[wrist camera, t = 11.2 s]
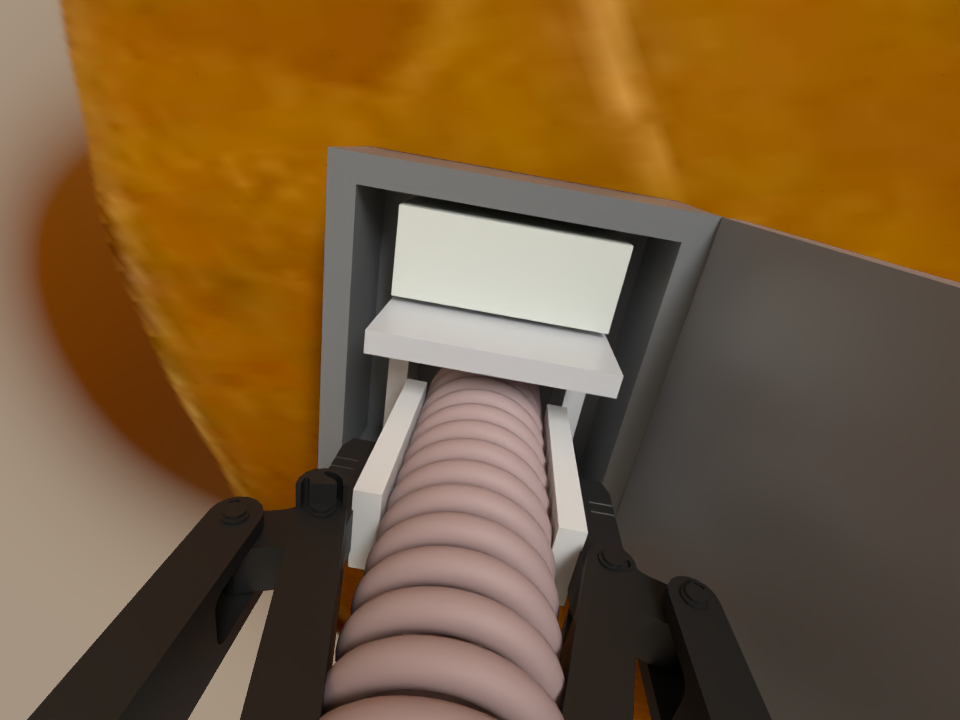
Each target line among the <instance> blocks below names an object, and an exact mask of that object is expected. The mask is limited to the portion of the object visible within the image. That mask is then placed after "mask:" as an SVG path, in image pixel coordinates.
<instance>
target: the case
mask: <svg viewBox="0 0 960 720" xmlns="http://www.w3.org/2000/svg"><path fill="white" fill-rule="evenodd" d="M721 219H722V220H721ZM720 222H721V223H720ZM716 233H717V234H716ZM715 236H716V237H715ZM711 247H712V248H711ZM710 250H711V251H710ZM709 253H710V254H709ZM705 264H706V265H705ZM704 267H705V268H704ZM700 278H701V279H700ZM699 281H700V282H699ZM695 292H696V293H695ZM694 295H695V296H694ZM690 306H691V307H690ZM689 309H690V310H689ZM688 312H689V313H688ZM684 323H685V324H684ZM683 326H684V327H683ZM679 337H680V338H679ZM678 340H679V341H678ZM674 351H675V352H674ZM673 354H674V355H673ZM669 365H670V366H669ZM443 367H444V368H449V369H455V370H460V371H466V372H471V373H477V374H483V375H488V376H494V377H499V378H505V379H510V380H516V381H521V382H527V383H532V384H538V385H539V390H540V402H541V414H542V422H543V418H544V414H545V410H546V406H547V404H550V405H555V406H561V407H566V408H567V412H568V418H569V424H570V429H571V435H572V441H573V447H574V453H575V459H576V465H577V471H578V477H579V478H582V479H587V480H593V481H598V482H601V483H602V484H603V486H604V487H605V488H606V490H607V491H608V492H609V494H610V498H611V502H612V507H613V510H614V514H615V515H614V517H616V522H617V526H618V530H619V534H620V538H621V542H622V546H623V550H625V551H626V552H627V553H628V554H629V555H631V557H632V558H633V560H634V561H635V563H636V567H637V569H638V570H639V571H641V572H642V573H644V574H646V575H648V576H650V577H652V578H654V579H656V580H659V581H661V582H663V583H665V584H668V583H669V582H670V580H671V579H672V578H674V577H676V576H687V577H690V578H693V579H696V580H698V581H700V582H701V583H703V584H705V585H706V586H707V587H708V588H709V589H710V590H712V591H713V592H714V593H715V595H716V596H717V598H718V600H719V601H720V603H721V605H722V608H723V610H724V612H725V614H726V617H727V619H728V621H729V624H730V626H731V628H732V630H733V633H734V635H735V637H736V639H737V642H738V644H739V646H740V649H741V651H742V653H743V655H744V658H745V660H746V662H747V664H748V667H749V669H750V671H751V674H752V676H753V678H754V680H755V683H756V685H757V687H758V689H759V692H760V694H761V696H762V699H763V701H764V703H765V705H766V708H767V710H768V712H769V714H770V717H771V719H772V720H960V283H958V282H955V281H952V280H948V279H945V278H941V277H938V276H934V275H931V274H927V273H924V272H920V271H917V270H913V269H910V268H906V267H903V266H900V265H896V264H893V263H889V262H886V261H882V260H879V259H875V258H872V257H868V256H865V255H861V254H858V253H854V252H851V251H848V250H844V249H841V248H837V247H834V246H830V245H827V244H823V243H820V242H816V241H813V240H809V239H806V238H802V237H799V236H795V235H792V234H789V233H785V232H782V231H778V230H775V229H771V228H768V227H764V226H761V225H757V224H754V223H750V222H747V221H743V220H736V219H730V218H724V217H721V216H718V215H715V214H712V213H710V212H707V211H704V210H701V209H698V208H695V207H692V206H690V205H687V204H684V203H681V202H678V201H674V200H668V199H663V198H657V197H651V196H646V195H640V194H634V193H629V192H623V191H618V190H612V189H606V188H601V187H595V186H590V185H584V184H578V183H573V182H567V181H562V180H556V179H550V178H545V177H539V176H534V175H528V174H522V173H517V172H511V171H506V170H500V169H494V168H489V167H483V166H478V165H472V164H466V163H461V162H455V161H449V160H444V159H438V158H433V157H427V156H421V155H416V154H410V153H405V152H399V151H393V150H388V149H382V148H377V147H371V146H359V147H328V152H327V184H326V217H325V250H324V282H323V315H322V348H321V380H320V413H319V446H318V469H321V468H329V466H331V463H332V461H333V460H334V458H336V455H337V453H338V451H339V450H340V448H341V446H342V445H344V444H345V443H347V442H348V441H350V440H351V439H353V438H357V439H362V440H368V441H373V442H377V440H378V438H379V436H380V434H381V432H382V430H383V428H384V426H385V424H386V422H387V420H388V418H389V416H390V414H391V412H392V410H393V408H394V405H395V403H396V401H397V399H398V397H399V395H400V393H401V391H402V389H403V387H404V385H405V383H406V381H407V379H412V380H418V381H423V382H427V388H426V395H425V398H426V396H427V393H428V391H429V388H430V384H431V382H432V380H433V378H434V377H435V375H436V374H437V373H438V371H439V370H441V369H442V368H443ZM668 368H669V369H668ZM663 382H664V383H663ZM662 385H663V386H662ZM658 396H659V397H658ZM657 399H658V400H657ZM653 410H654V411H653ZM652 413H653V414H652ZM648 424H649V425H648ZM647 427H648V428H647ZM642 441H643V442H642ZM641 444H642V445H641ZM637 455H638V456H637ZM636 458H637V459H636ZM632 469H633V470H632ZM631 472H632V473H631ZM627 483H628V484H627ZM626 486H627V487H626ZM621 500H622V501H621ZM620 503H621V504H620ZM616 514H617V515H616Z"/></svg>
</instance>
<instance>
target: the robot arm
mask: <svg viewBox="0 0 960 720" xmlns="http://www.w3.org/2000/svg"><path fill="white" fill-rule="evenodd" d="M426 388H427V382H423V381H418V380H412V379H407V381H406V383H405V385H404V387H403V389H402V391H401V393H400V395H399V397H398V399H397V401H396V403H395V405H394V408H393V410H392V412H391V414H390V416H389V418H388V420H387V422H386V424H385V426H384V428H383V430H382V432H381V434H380V436H379V438H378V440H377V442H373V441H368V440H362V439H357V438H353V439H351V440H350V441H348V442H347V443H345V444H344V445H342V446H341V448H340V450H339V451H338V453H337V455H336V458H334V460H333V461H332V463H331V466H329V468H321V469H314V470H311V471H308V472H306V473H305V474H303V475H302V476H300V477H299V479H298V481H297V482H296V507H294V508H290V509H285V510H274V511H263V507H262V505H261V504H260V503H259V502H258V501H257V500H255V499H252V498H250V497H234V498H229V499H226V500H223V501H221V502H219V503H217V504H216V505H215V506H213V507H212V508H211V509H210V510H209V511H208V512H207V514H205V516H204V517H203V518H202V519H201V520H200V521H199V523H198V524H197V525H196V526H195V527H194V528H193V530H192V531H191V532H190V533H189V534H188V535H187V536H186V538H185V539H184V540H183V541H182V542H181V543H180V544H179V546H178V547H177V548H176V549H175V550H174V551H173V553H172V554H171V555H170V556H169V557H168V558H167V559H166V560H165V562H164V563H163V564H162V565H161V566H160V567H159V568H158V570H157V571H156V572H155V573H154V574H153V575H152V577H151V578H150V579H149V580H148V581H147V582H146V583H145V585H144V586H143V587H142V588H141V589H140V590H139V591H138V593H137V594H136V595H135V596H134V597H133V598H132V600H131V601H130V602H129V603H128V604H127V605H126V606H125V608H124V609H123V610H122V611H121V612H120V613H119V615H118V616H117V617H116V618H115V619H114V620H113V621H112V623H111V624H110V625H109V626H108V627H107V629H105V631H104V632H103V633H102V634H101V635H100V636H99V638H98V639H97V640H96V641H95V642H94V643H93V644H92V646H91V647H90V648H89V649H88V650H87V651H86V653H85V654H84V655H83V656H82V657H81V658H80V659H79V661H78V662H77V663H76V664H75V665H74V666H73V667H72V669H71V670H70V671H69V672H68V673H67V674H66V676H65V677H64V678H63V679H62V680H61V682H59V684H58V685H57V686H56V687H55V688H54V689H53V690H52V692H51V693H50V694H49V695H48V696H47V697H46V699H45V700H44V701H43V702H42V703H41V704H40V705H39V707H38V708H37V709H36V710H35V711H34V712H33V713H32V715H31V716H30V717H29V718H28V719H27V720H188V718H189V716H190V715H191V713H192V711H193V709H194V708H195V706H196V704H197V703H198V701H199V699H200V698H201V696H202V694H203V693H204V691H205V689H206V687H207V686H208V684H209V682H210V680H211V679H212V677H213V675H214V673H215V672H216V670H217V669H218V667H219V665H220V664H221V662H222V660H223V659H224V657H225V655H226V653H227V652H228V650H229V648H230V647H231V645H232V643H233V641H234V640H235V638H236V636H237V635H238V633H239V631H240V630H241V628H242V626H243V625H244V623H245V621H246V619H247V618H248V616H249V614H250V613H251V611H252V609H253V608H254V606H255V604H256V603H257V601H258V599H259V597H260V596H261V594H262V592H263V591H266V590H274V592H273V596H272V600H271V604H270V608H269V611H268V615H267V619H266V623H265V627H264V630H263V634H262V638H261V642H260V646H259V649H258V653H257V657H256V661H255V664H254V668H253V672H252V676H251V680H250V683H249V687H248V691H247V696H246V699H245V702H244V706H243V711H242V714H241V718H240V720H319V719H320V718H321V717H322V716H323V704H324V691H325V681H326V675H327V673H328V671H329V670H330V669H331V668H332V664H333V655H334V647H335V638H336V630H337V622H338V613H339V605H340V596H341V588H342V580H343V567H344V565H345V562H346V560H347V557H348V555H349V558H348V567H352V568H358V569H363V570H365V565H366V561H367V558H368V554H369V552H370V550H371V549H372V547H373V545H374V544H375V542H376V535H377V531H378V528H379V524H380V522H381V520H382V518H383V517H384V515H385V512H386V507H387V503H388V500H389V497H390V495H391V493H392V491H393V490H394V486H395V481H396V478H397V475H398V473H399V471H400V469H401V467H402V463H403V459H404V456H405V454H406V452H407V450H408V448H409V443H410V439H411V437H412V435H413V433H414V431H415V427H416V423H417V421H418V419H419V417H420V414H421V409H422V407H423V405H424V403H425V395H426ZM542 426H543V432H544V446H545V459H546V466H547V473H546V476H547V481H548V487H549V491H548V499H549V503H550V510H551V513H550V519H549V521H550V524H551V527H552V533H553V541H552V547H551V548H552V551H553V554H554V558H555V565H556V576H555V585H556V588H557V592H558V599H559V606H564V604H565V601H566V598H567V595H568V597H569V610H568V613H567V616H566V619H565V622H564V625H563V628H562V630H561V635H562V643H563V651H562V660H561V664H560V665H561V668H562V671H563V674H564V678H565V681H566V685H565V690H564V695H563V699H562V702H561V706H560V709H559V710H560V712H561V713H562V715H563V718H564V720H633V715H634V676H635V657H636V658H638V662H639V667H640V671H641V675H642V680H643V684H644V688H645V693H646V697H647V701H648V706H649V710H650V714H651V719H652V720H772V719H771V717H770V714H769V712H768V710H767V708H766V705H765V703H764V701H763V699H762V696H761V694H760V692H759V689H758V687H757V685H756V683H755V680H754V678H753V676H752V674H751V671H750V669H749V667H748V664H747V662H746V660H745V658H744V655H743V653H742V651H741V649H740V646H739V644H738V642H737V639H736V637H735V635H734V633H733V630H732V628H731V626H730V624H729V621H728V619H727V617H726V614H725V612H724V610H723V608H722V605H721V603H720V601H719V600H718V598H717V596H716V595H715V593H714V592H713V591H712V590H710V589H709V588H708V587H707V586H706V585H705V584H703V583H701V582H700V581H698V580H696V579H693V578H690V577H687V576H676V577H674V578H672V579H671V580H670V582H669V583H668V584H665V583H663V582H661V581H659V580H656V579H654V578H652V577H650V576H648V575H646V574H644V573H642V572H641V571H639V570H638V569H637V567H636V563H635V561H634V560H633V558H632V557H631V555H629V554H628V553H627V552H626V551H625V550H623V546H622V542H621V538H620V534H619V530H618V526H617V522H616V518H615V517H614V515H615V514H614V510H613V507H612V502H611V498H610V494H609V492H608V491H607V490H606V488H605V487H604V486H603V484H602V483H601V482H598V481H593V480H587V479H582V478H579V477H578V471H577V465H576V459H575V453H574V447H573V441H572V435H571V429H570V424H569V418H568V412H567V408H566V407H561V406H555V405H550V404H547V406H546V410H545V414H544V418H543V422H542Z"/></svg>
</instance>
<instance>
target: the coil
mask: <svg viewBox="0 0 960 720" xmlns="http://www.w3.org/2000/svg"><path fill="white" fill-rule="evenodd" d="M546 473H547V466H546V459H545V446H544V432H543V426H542V414H541V402H540V390H539V385H538V384H532V383H527V382H521V381H516V380H510V379H505V378H499V377H494V376H488V375H483V374H477V373H471V372H466V371H460V370H455V369H449V368H444V367H443V368H442V369H441V370H439V371H438V373H437V374H436V375H435V377H434V378H433V380H432V382H431V384H430V388H429V391H428V393H427V396H426V398H425V403H424V405H423V407H422V409H421V414H420V417H419V419H418V421H417V423H416V427H415V431H414V433H413V435H412V437H411V439H410V443H409V448H408V450H407V452H406V454H405V456H404V459H403V463H402V467H401V469H400V471H399V473H398V475H397V478H396V481H395V486H394V490H393V491H392V493H391V495H390V497H389V500H388V503H387V507H386V512H385V515H384V517H383V518H382V520H381V522H380V524H379V528H378V531H377V535H376V542H375V544H374V545H373V547H372V549H371V550H370V552H369V554H368V558H367V561H366V565H365V570H364V577H363V578H362V579H361V581H360V583H359V584H358V586H357V588H356V590H355V594H354V597H353V601H352V606H351V616H350V617H349V619H348V620H347V621H346V622H345V624H344V626H343V627H342V629H341V631H340V635H339V638H338V642H337V646H336V655H335V656H336V657H335V658H336V659H335V661H336V663H335V664H334V665H333V666H332V668H331V669H330V670H329V671H328V673H327V675H326V681H325V691H324V704H323V716H322V717H321V718H320V719H319V720H564V718H563V715H562V713H561V712H560V710H559V709H560V706H561V702H562V699H563V695H564V690H565V685H566V681H565V678H564V674H563V671H562V668H561V665H560V664H561V660H562V651H563V643H562V635H561V630H560V627H559V624H558V621H557V619H558V613H559V599H558V592H557V588H556V585H555V576H556V565H555V558H554V554H553V551H552V548H551V547H552V541H553V533H552V527H551V524H550V521H549V519H550V513H551V510H550V503H549V499H548V491H549V487H548V481H547V476H546ZM482 647H483V648H482Z"/></svg>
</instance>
